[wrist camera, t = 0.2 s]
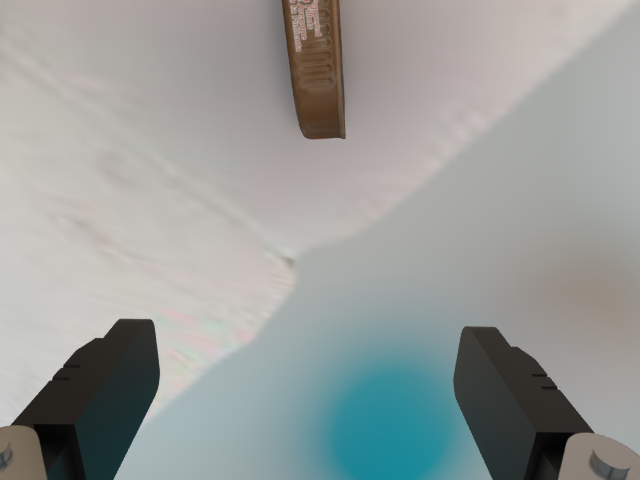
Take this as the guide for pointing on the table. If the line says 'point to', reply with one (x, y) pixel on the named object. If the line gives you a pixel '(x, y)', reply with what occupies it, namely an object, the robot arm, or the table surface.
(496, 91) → the table surface
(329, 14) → the tin
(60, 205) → the table surface
